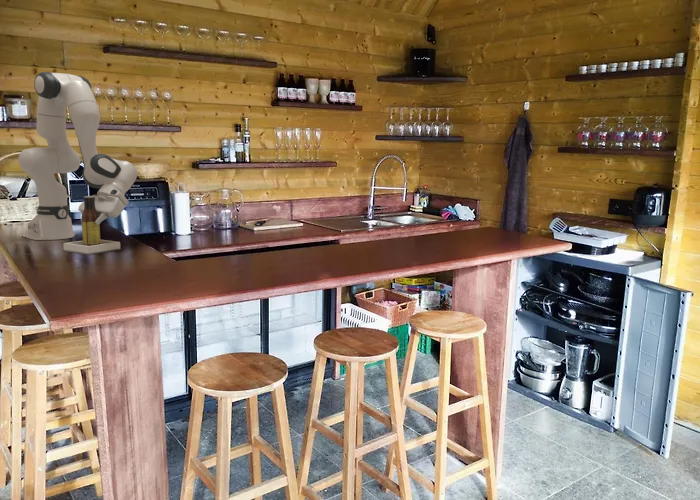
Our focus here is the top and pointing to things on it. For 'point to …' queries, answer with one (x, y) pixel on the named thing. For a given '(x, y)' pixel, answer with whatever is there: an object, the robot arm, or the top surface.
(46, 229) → the robot arm
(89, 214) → the sauce bottle
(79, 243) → the tray
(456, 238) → the top surface
